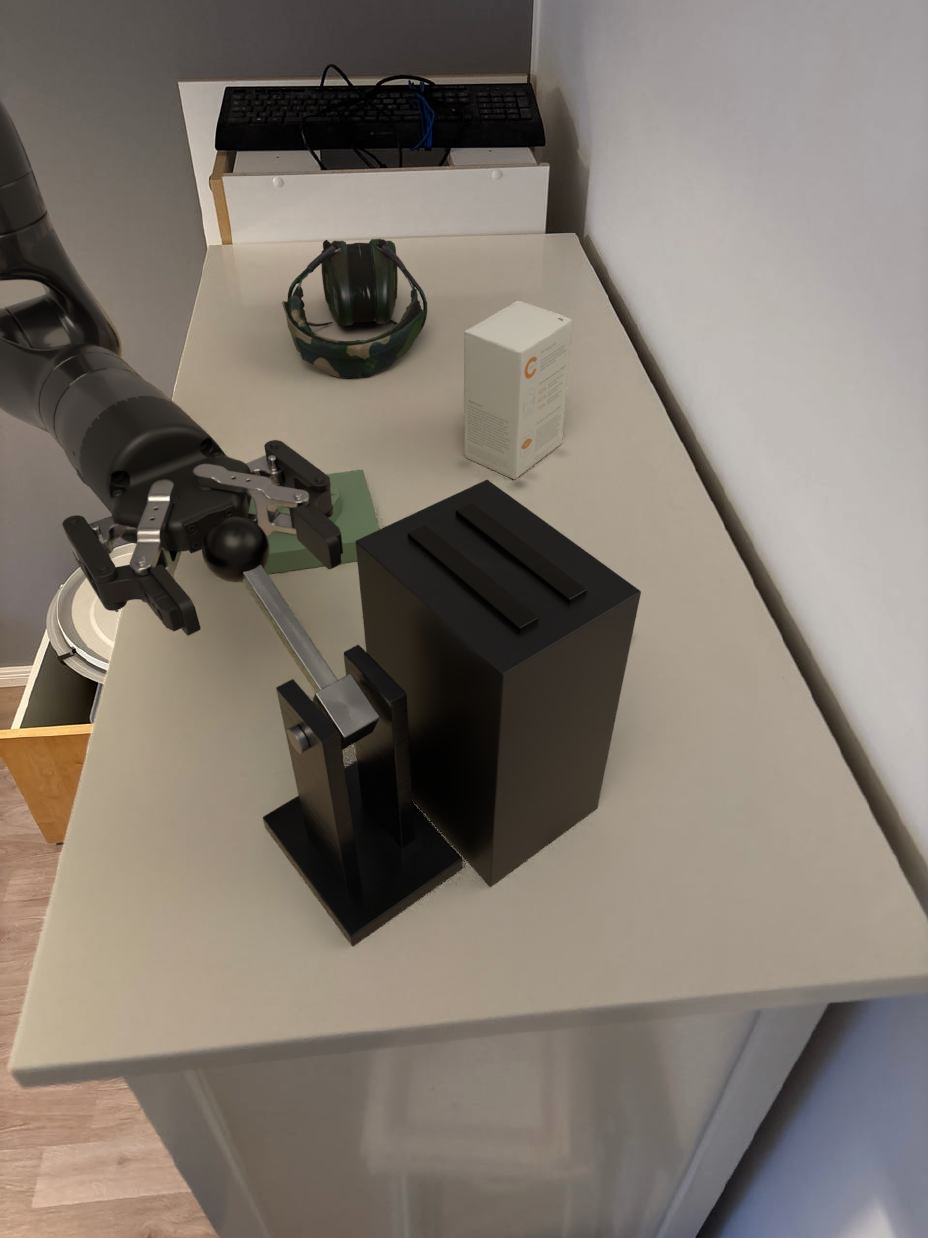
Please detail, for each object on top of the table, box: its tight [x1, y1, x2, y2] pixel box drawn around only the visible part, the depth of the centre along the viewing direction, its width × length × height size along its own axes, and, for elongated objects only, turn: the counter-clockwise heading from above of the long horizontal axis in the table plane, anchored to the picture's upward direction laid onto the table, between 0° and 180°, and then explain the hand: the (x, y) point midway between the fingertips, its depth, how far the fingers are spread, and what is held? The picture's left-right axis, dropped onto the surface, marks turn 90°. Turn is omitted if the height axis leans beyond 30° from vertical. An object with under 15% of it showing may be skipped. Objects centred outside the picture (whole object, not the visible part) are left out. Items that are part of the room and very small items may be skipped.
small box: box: [463, 300, 574, 480], centre depth 82 cm, size 8×6×13 cm
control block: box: [249, 469, 381, 575], centre depth 76 cm, size 12×10×4 cm
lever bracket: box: [262, 644, 463, 947], centre depth 50 cm, size 10×8×15 cm
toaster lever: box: [201, 516, 380, 751], centre depth 47 cm, size 14×4×4 cm, turn 39°
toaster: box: [355, 479, 642, 888], centre depth 52 cm, size 12×9×19 cm
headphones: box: [281, 238, 428, 379], centre depth 100 cm, size 13×13×20 cm
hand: (267, 586), depth 47 cm, fingers open, 8 cm apart
